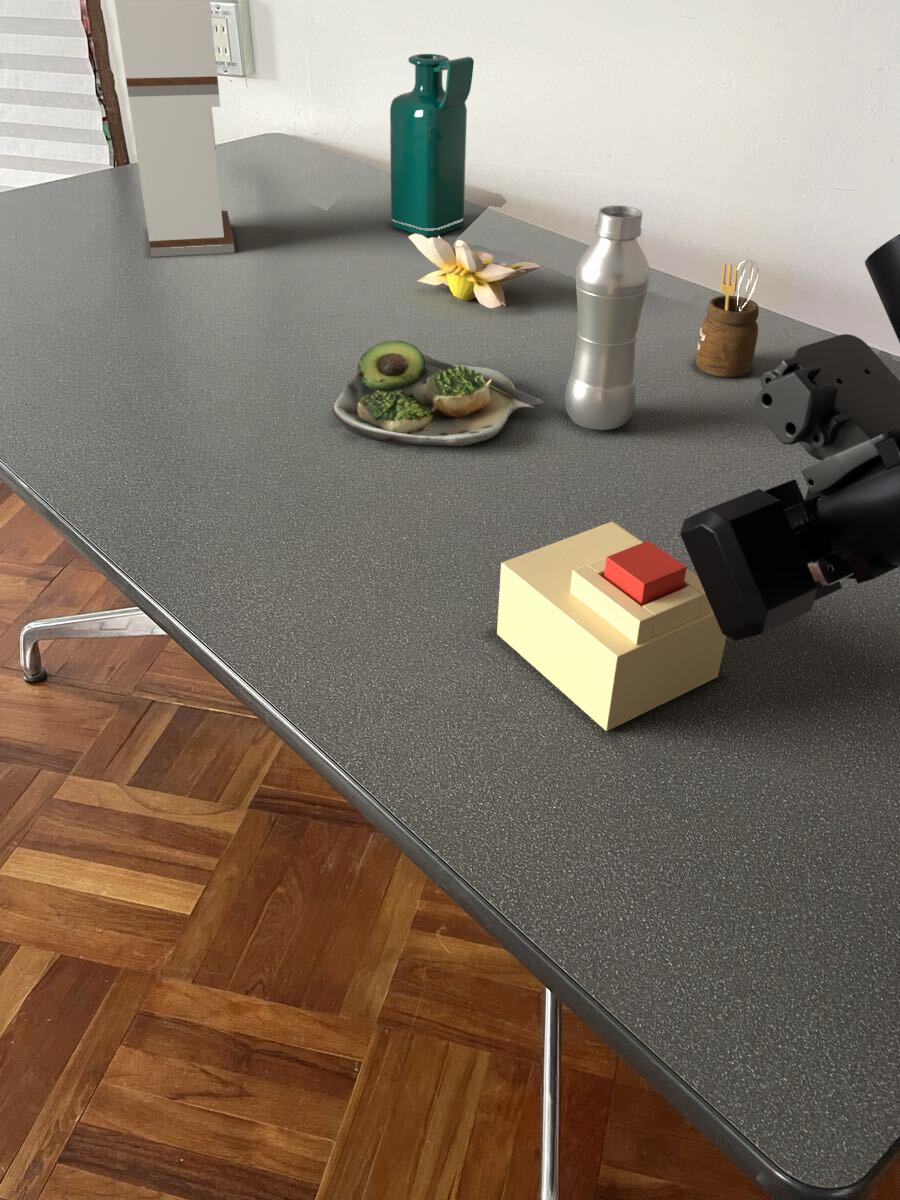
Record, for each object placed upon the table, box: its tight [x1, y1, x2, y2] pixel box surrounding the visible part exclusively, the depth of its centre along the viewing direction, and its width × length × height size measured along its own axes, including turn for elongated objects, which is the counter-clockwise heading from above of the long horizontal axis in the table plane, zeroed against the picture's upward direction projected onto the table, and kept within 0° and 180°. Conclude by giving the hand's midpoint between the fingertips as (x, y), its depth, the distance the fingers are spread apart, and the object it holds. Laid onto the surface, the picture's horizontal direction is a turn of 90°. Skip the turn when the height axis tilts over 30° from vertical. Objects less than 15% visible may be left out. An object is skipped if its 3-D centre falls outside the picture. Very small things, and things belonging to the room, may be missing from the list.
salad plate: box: [331, 339, 544, 447], centre depth 104 cm, size 19×18×5 cm
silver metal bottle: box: [564, 205, 651, 431], centre depth 98 cm, size 6×7×20 cm
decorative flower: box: [408, 233, 542, 309], centre depth 127 cm, size 15×11×10 cm
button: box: [604, 540, 688, 606], centre depth 68 cm, size 4×4×2 cm
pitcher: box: [389, 53, 475, 238], centre depth 145 cm, size 10×8×22 cm
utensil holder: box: [695, 259, 760, 378], centre depth 111 cm, size 6×6×12 cm
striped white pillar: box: [114, 0, 236, 258], centre depth 134 cm, size 11×11×35 cm
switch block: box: [496, 521, 728, 732], centre depth 73 cm, size 12×10×8 cm
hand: (739, 562), depth 61 cm, fingers closed
